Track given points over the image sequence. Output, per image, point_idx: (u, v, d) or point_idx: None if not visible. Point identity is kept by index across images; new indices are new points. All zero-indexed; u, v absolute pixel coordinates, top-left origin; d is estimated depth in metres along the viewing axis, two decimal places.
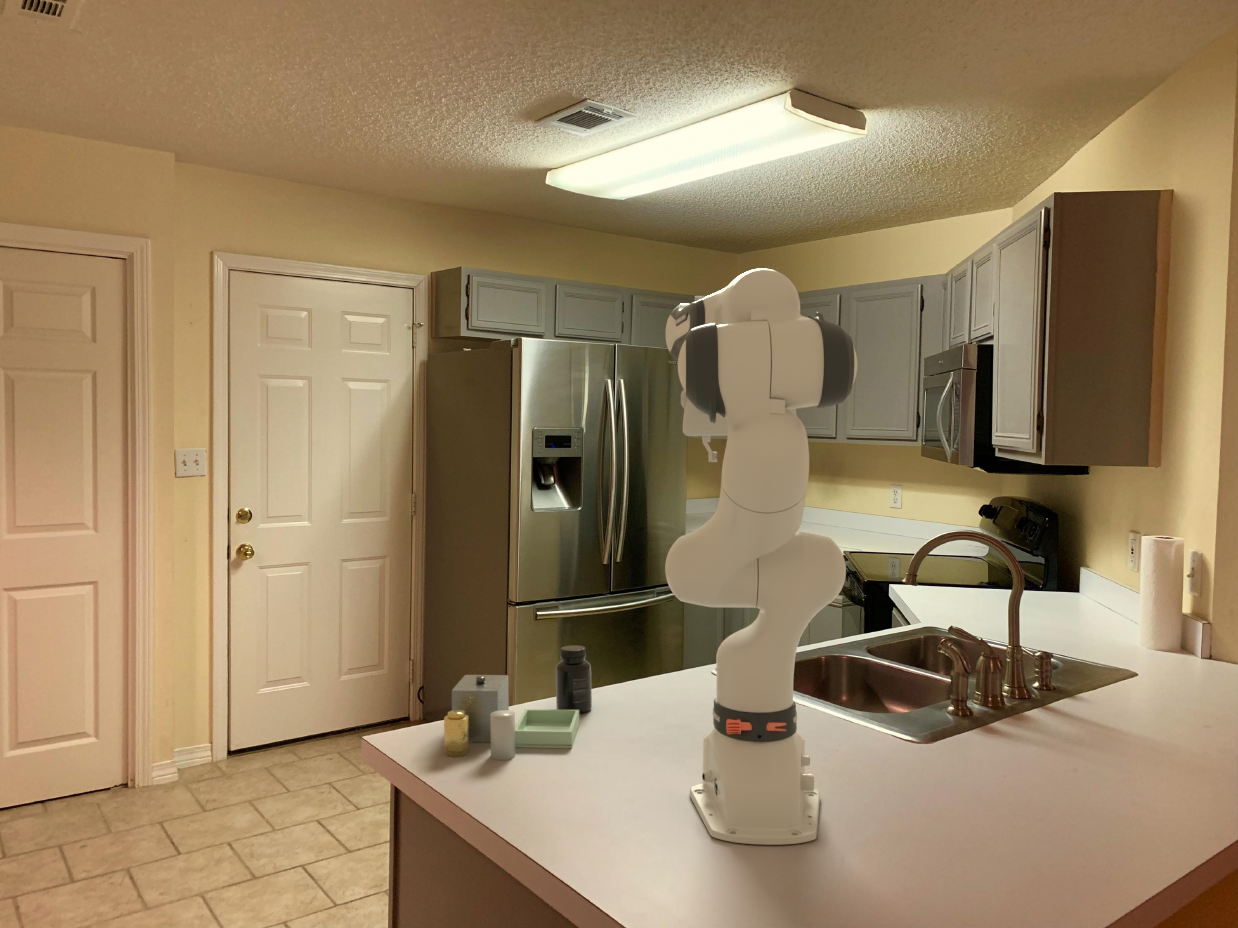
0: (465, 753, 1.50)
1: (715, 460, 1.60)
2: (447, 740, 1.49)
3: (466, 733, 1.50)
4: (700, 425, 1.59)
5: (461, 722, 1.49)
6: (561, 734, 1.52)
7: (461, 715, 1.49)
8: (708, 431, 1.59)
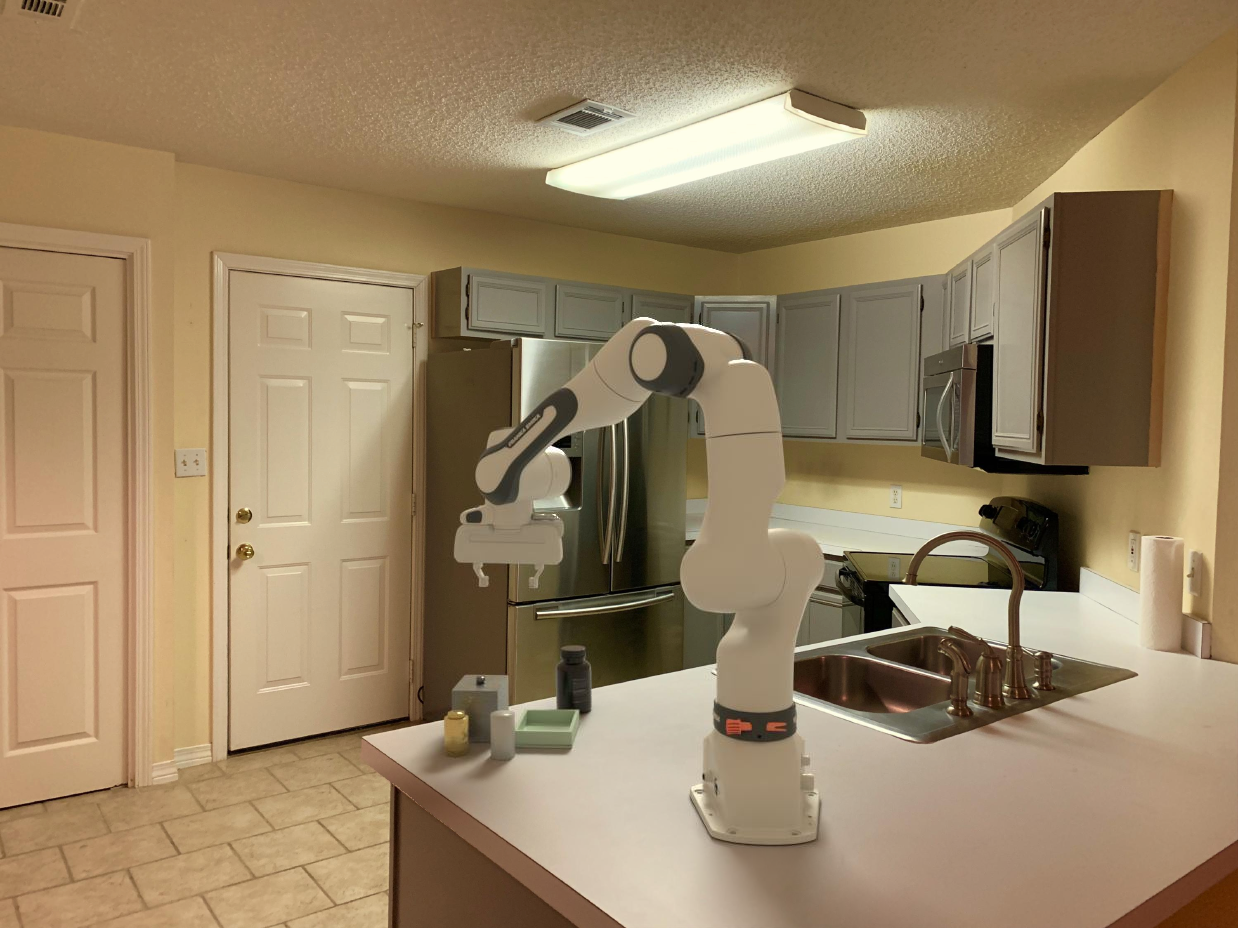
0: (465, 753, 1.50)
1: None
2: (447, 740, 1.49)
3: (466, 733, 1.50)
4: None
5: (461, 722, 1.49)
6: (561, 734, 1.52)
7: (461, 715, 1.49)
8: None
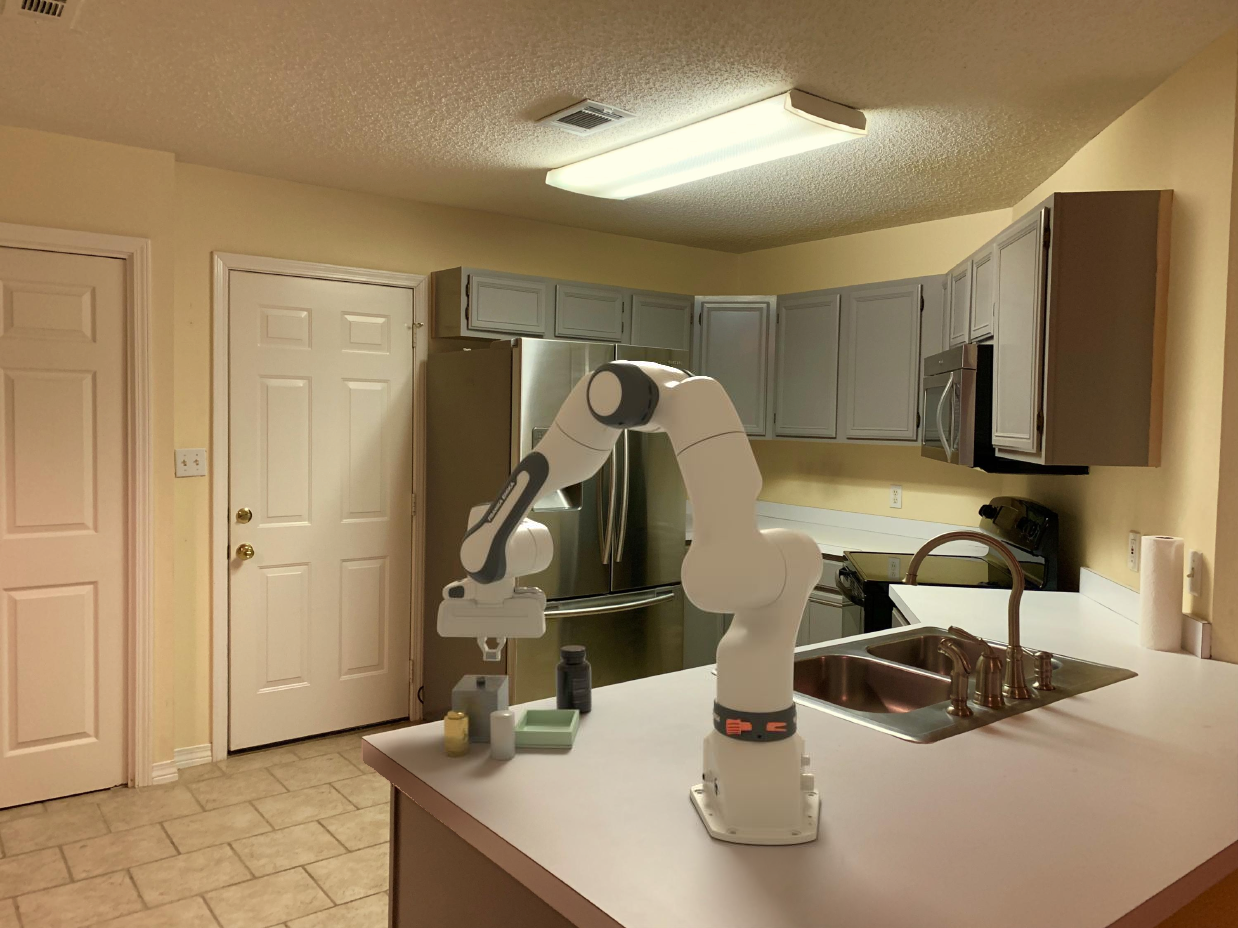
0: (465, 753, 1.50)
1: None
2: (447, 740, 1.49)
3: (466, 733, 1.50)
4: None
5: (461, 722, 1.49)
6: (561, 734, 1.52)
7: (461, 715, 1.49)
8: None
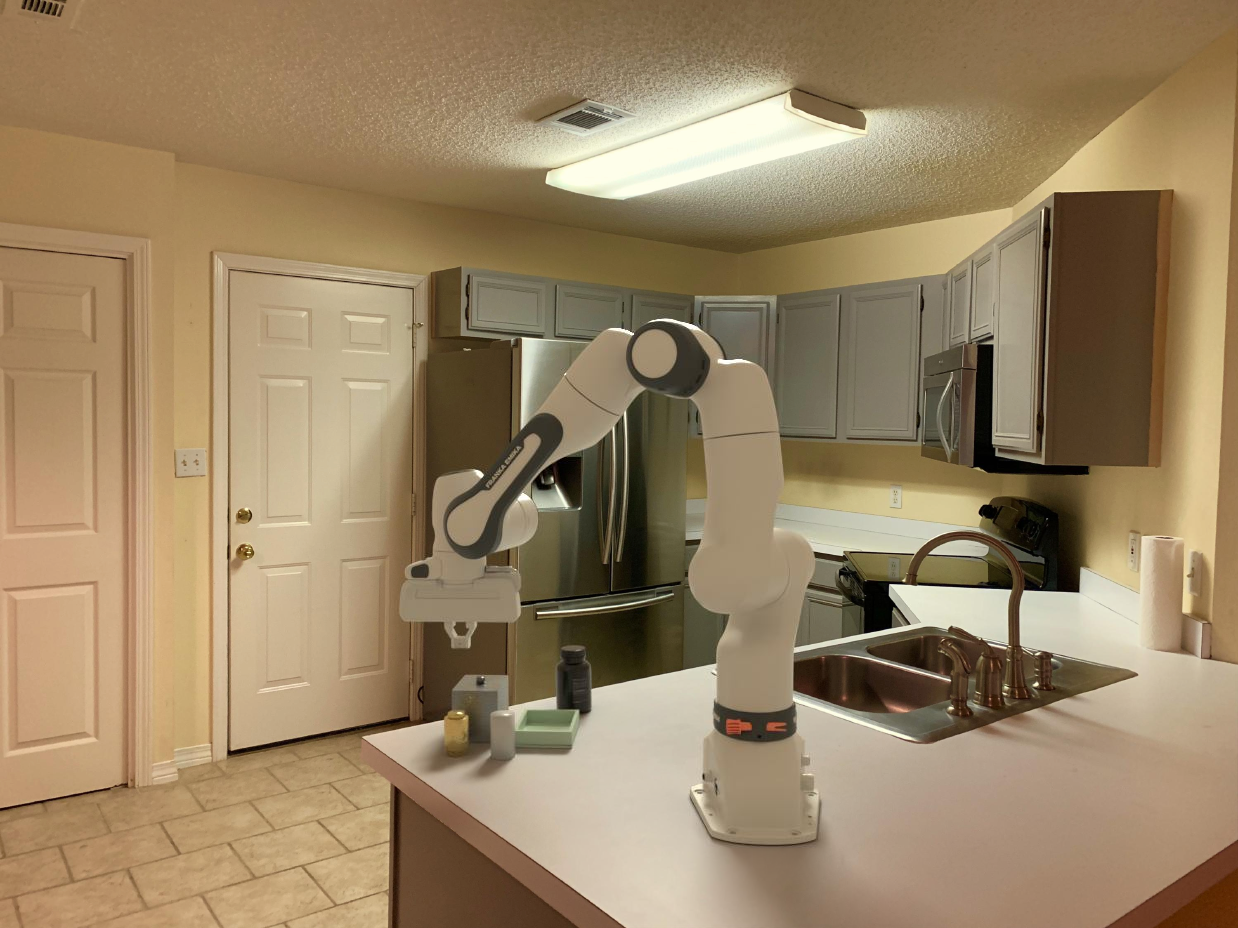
0: (465, 753, 1.50)
1: None
2: (447, 740, 1.49)
3: (466, 733, 1.50)
4: None
5: (461, 722, 1.49)
6: (561, 734, 1.52)
7: (461, 715, 1.49)
8: None
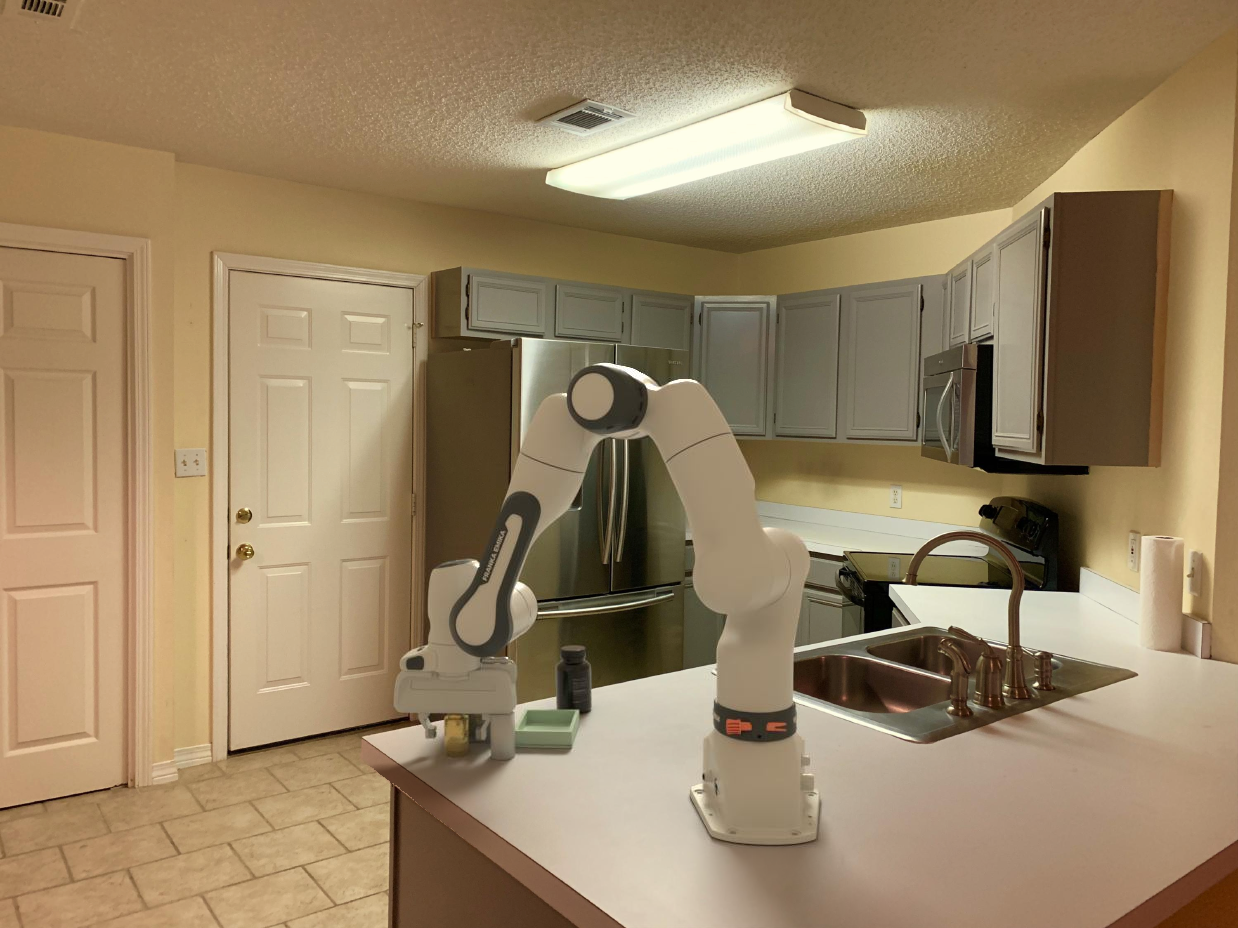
0: (465, 753, 1.50)
1: None
2: (447, 740, 1.49)
3: (466, 733, 1.50)
4: None
5: (461, 722, 1.49)
6: (561, 734, 1.52)
7: (461, 715, 1.49)
8: None
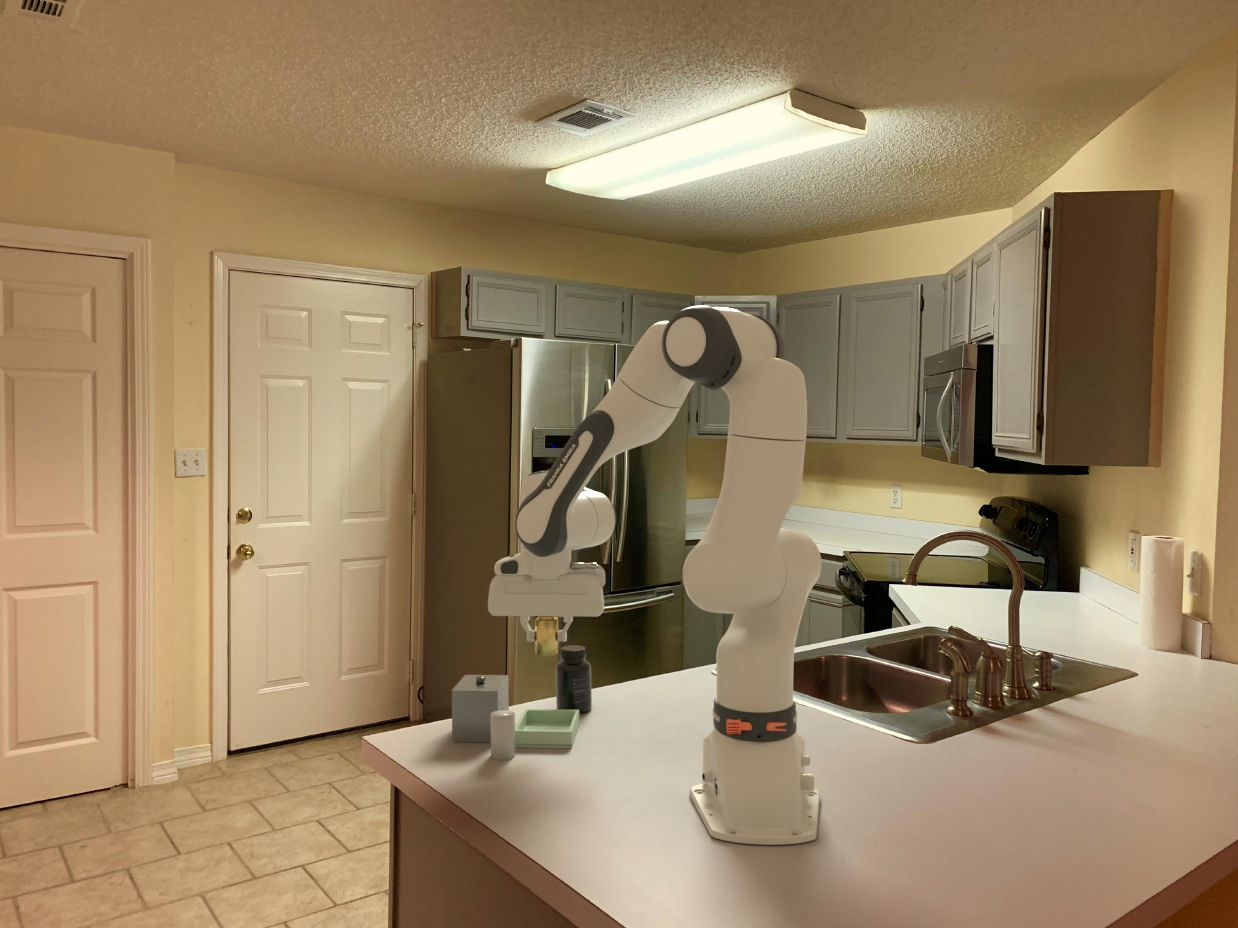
0: (555, 652, 1.57)
1: None
2: (539, 640, 1.56)
3: (556, 634, 1.57)
4: None
5: (552, 623, 1.56)
6: (561, 734, 1.52)
7: (552, 616, 1.57)
8: None
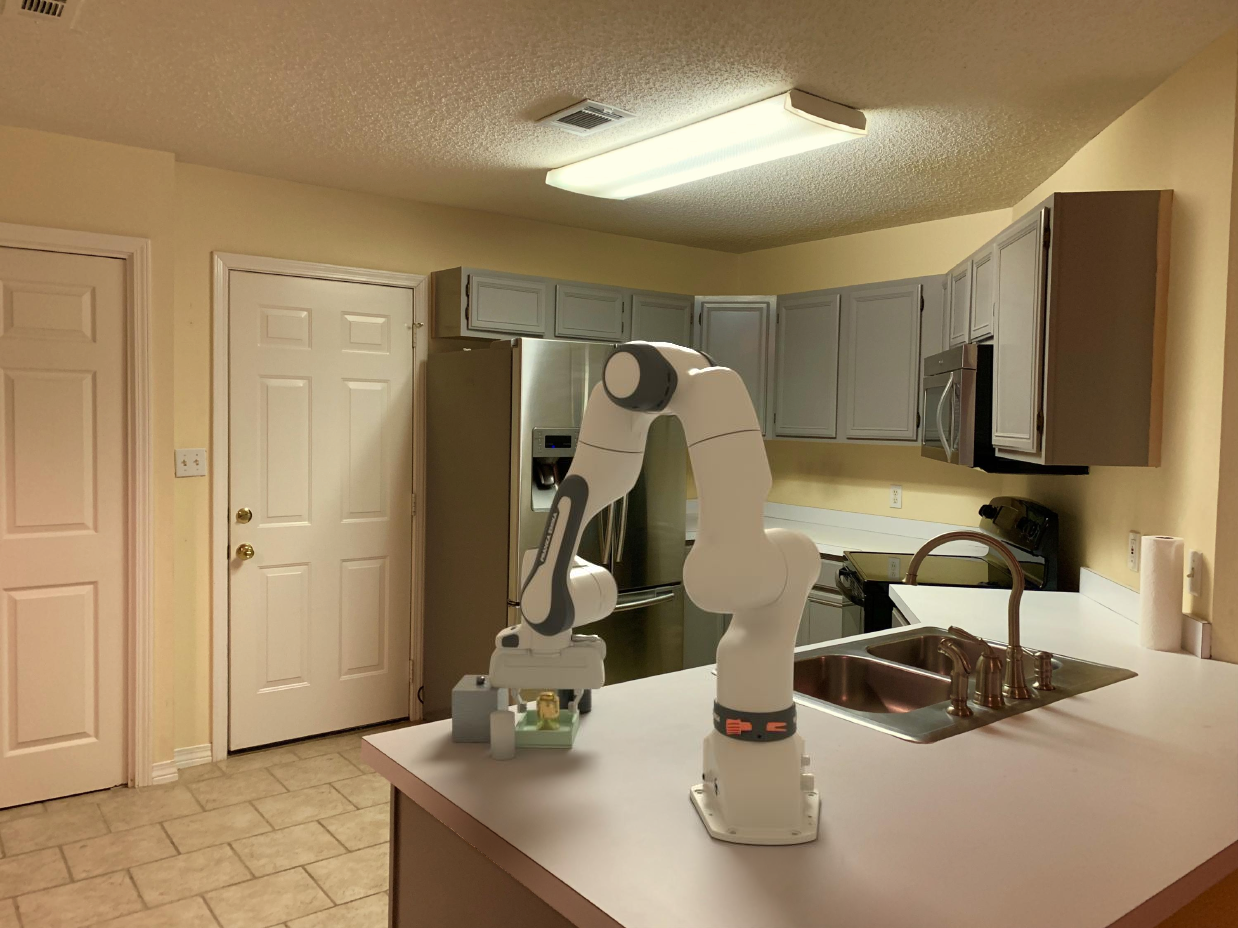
0: None
1: None
2: (540, 720, 1.57)
3: (557, 713, 1.58)
4: None
5: (553, 703, 1.57)
6: (561, 734, 1.52)
7: (553, 696, 1.58)
8: None
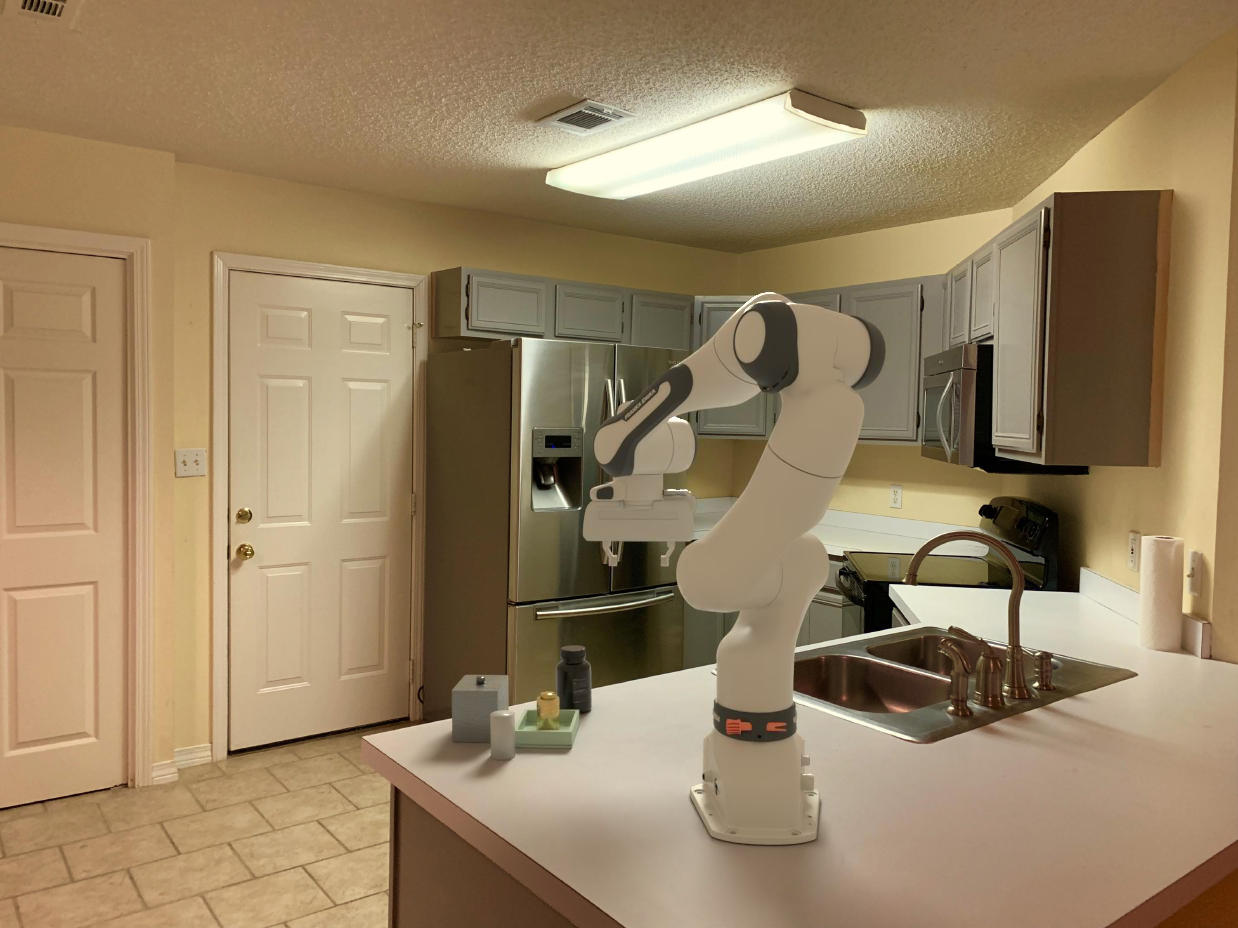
0: None
1: None
2: (540, 720, 1.57)
3: (557, 713, 1.58)
4: None
5: (553, 702, 1.57)
6: (561, 734, 1.52)
7: (553, 696, 1.58)
8: None
